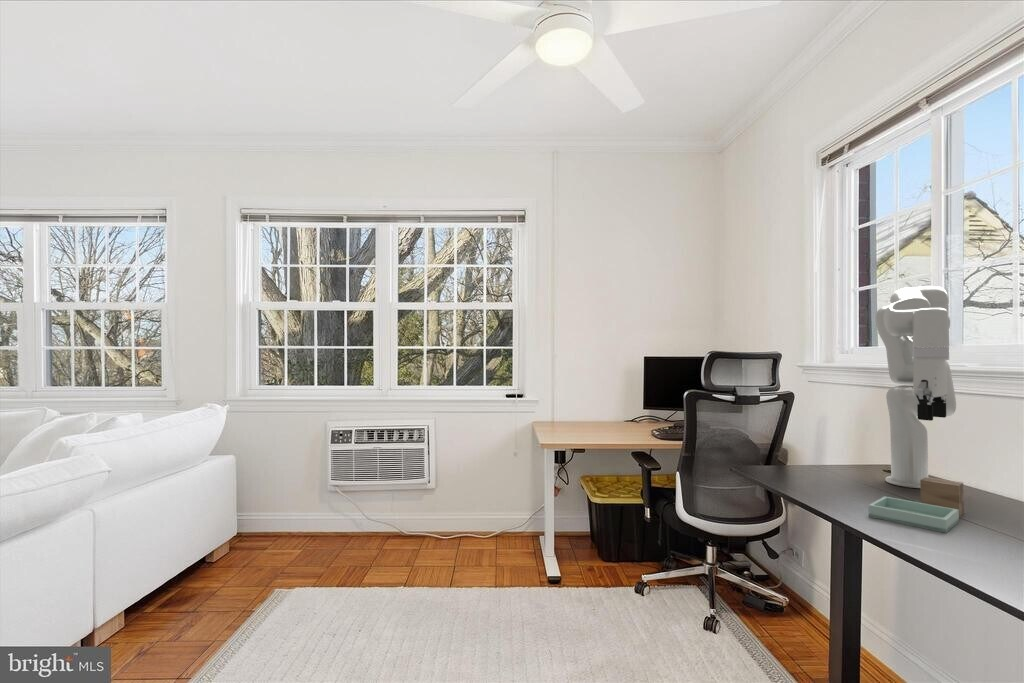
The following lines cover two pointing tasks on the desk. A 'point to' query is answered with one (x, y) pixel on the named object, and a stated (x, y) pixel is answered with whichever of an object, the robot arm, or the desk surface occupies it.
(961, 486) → the walnut block
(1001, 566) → the desk surface
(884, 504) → the tray
